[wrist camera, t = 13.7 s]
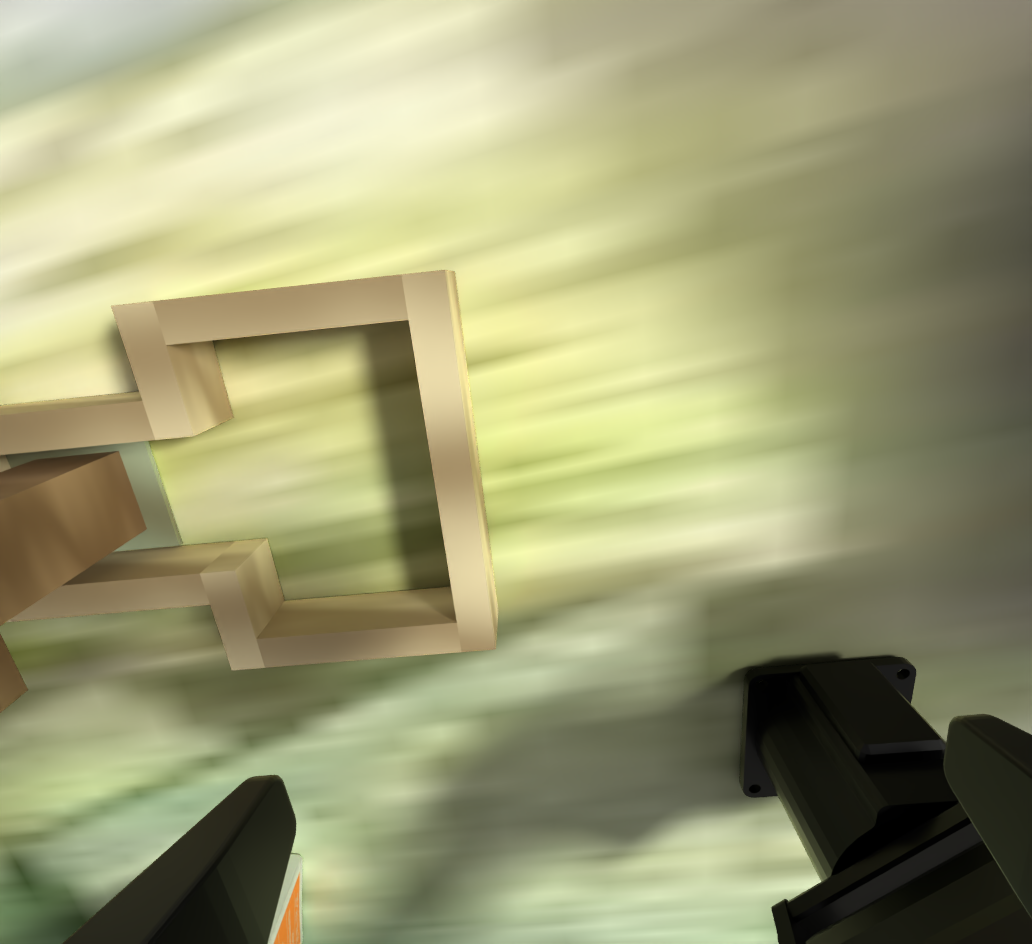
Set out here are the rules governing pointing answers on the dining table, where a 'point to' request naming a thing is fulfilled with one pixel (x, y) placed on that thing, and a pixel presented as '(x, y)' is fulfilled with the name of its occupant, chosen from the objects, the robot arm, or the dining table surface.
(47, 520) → the tan brick
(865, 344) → the dining table surface
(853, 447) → the dining table surface
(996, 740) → the robot arm
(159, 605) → the keyhole cradle
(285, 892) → the skincare box
